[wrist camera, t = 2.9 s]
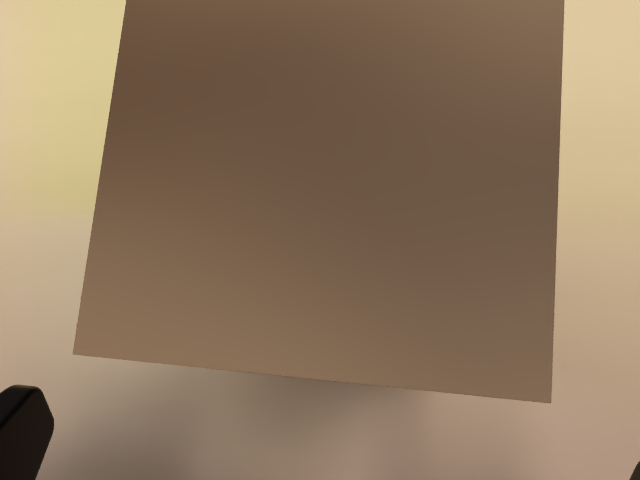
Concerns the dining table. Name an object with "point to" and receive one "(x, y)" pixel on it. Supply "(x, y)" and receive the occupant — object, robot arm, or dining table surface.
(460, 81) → the brown rectangular pillar
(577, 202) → the dining table surface
